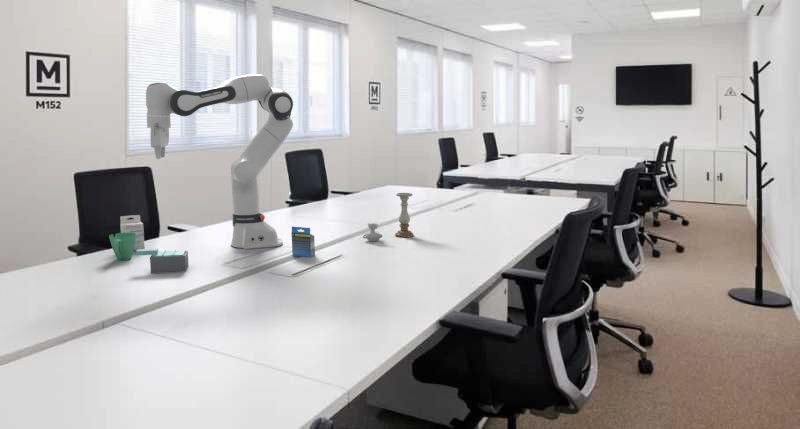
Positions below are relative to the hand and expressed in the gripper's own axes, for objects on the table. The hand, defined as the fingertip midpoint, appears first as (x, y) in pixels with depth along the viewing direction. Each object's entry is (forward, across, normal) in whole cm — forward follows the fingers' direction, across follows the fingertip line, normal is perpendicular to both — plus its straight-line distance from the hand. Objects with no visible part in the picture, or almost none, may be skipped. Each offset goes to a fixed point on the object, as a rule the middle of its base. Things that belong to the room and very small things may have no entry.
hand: (160, 158), depth 252 cm
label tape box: (+40, -13, -56) cm, 70 cm away
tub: (+40, -30, -6) cm, 50 cm away
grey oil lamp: (+39, +10, -89) cm, 98 cm away
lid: (+34, -30, -4) cm, 45 cm away
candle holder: (+39, +20, -106) cm, 114 cm away
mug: (+40, -7, +15) cm, 44 cm away
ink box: (+40, +13, +15) cm, 45 cm away
